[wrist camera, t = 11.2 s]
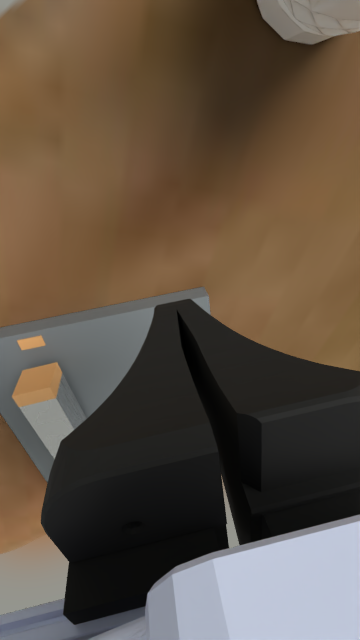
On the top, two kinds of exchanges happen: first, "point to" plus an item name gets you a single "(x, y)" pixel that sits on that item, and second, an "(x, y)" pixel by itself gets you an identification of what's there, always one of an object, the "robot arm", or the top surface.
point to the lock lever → (48, 404)
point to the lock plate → (78, 357)
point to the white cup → (311, 18)
